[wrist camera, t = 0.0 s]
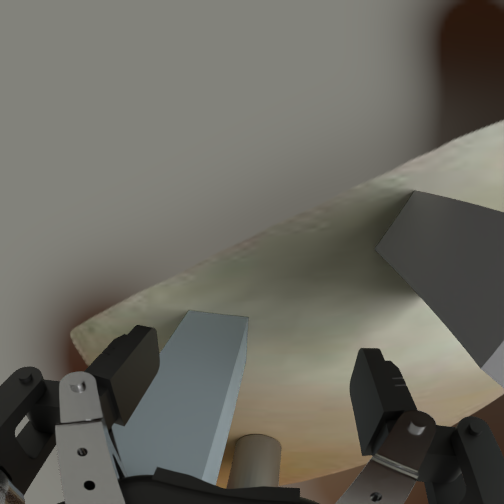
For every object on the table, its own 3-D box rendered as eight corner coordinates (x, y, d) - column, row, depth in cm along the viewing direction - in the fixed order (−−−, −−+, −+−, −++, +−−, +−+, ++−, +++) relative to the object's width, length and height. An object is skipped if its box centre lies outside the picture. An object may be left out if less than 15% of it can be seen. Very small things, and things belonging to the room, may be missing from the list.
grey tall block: (466, 240, 36) (595, 317, 10) (428, 293, 39) (530, 411, 13) (414, 190, 35) (566, 233, 10) (374, 249, 38) (480, 368, 13)
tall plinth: (261, 369, 46) (226, 560, 15) (188, 359, 47) (105, 525, 16) (266, 309, 43) (223, 529, 12) (185, 300, 44) (61, 474, 13)
